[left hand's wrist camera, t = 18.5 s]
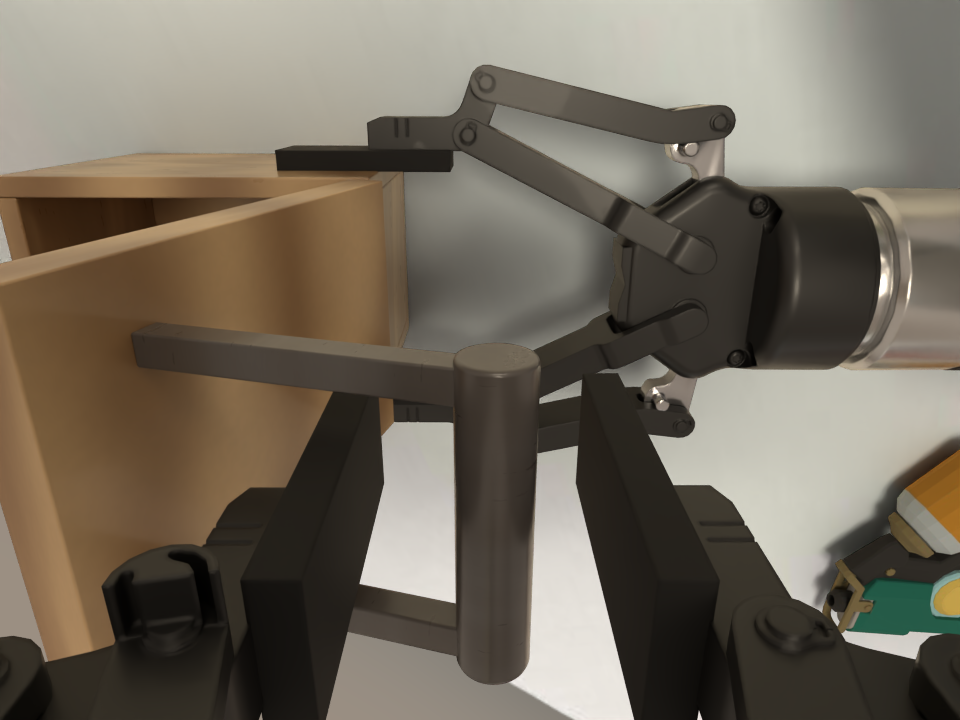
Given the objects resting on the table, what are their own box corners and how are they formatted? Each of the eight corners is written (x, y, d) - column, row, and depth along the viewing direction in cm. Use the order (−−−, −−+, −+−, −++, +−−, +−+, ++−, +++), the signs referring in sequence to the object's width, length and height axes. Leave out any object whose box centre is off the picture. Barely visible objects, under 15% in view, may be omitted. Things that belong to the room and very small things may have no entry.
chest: (167, 326, 36) (49, 411, 26) (136, 153, 33) (-11, 176, 23) (409, 327, 36) (382, 412, 26) (402, 154, 33) (369, 177, 23)
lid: (64, 719, 13) (493, 846, 11) (-70, 278, 10) (500, 332, 8) (365, 418, 26) (594, 449, 24) (349, 179, 22) (613, 188, 20)
